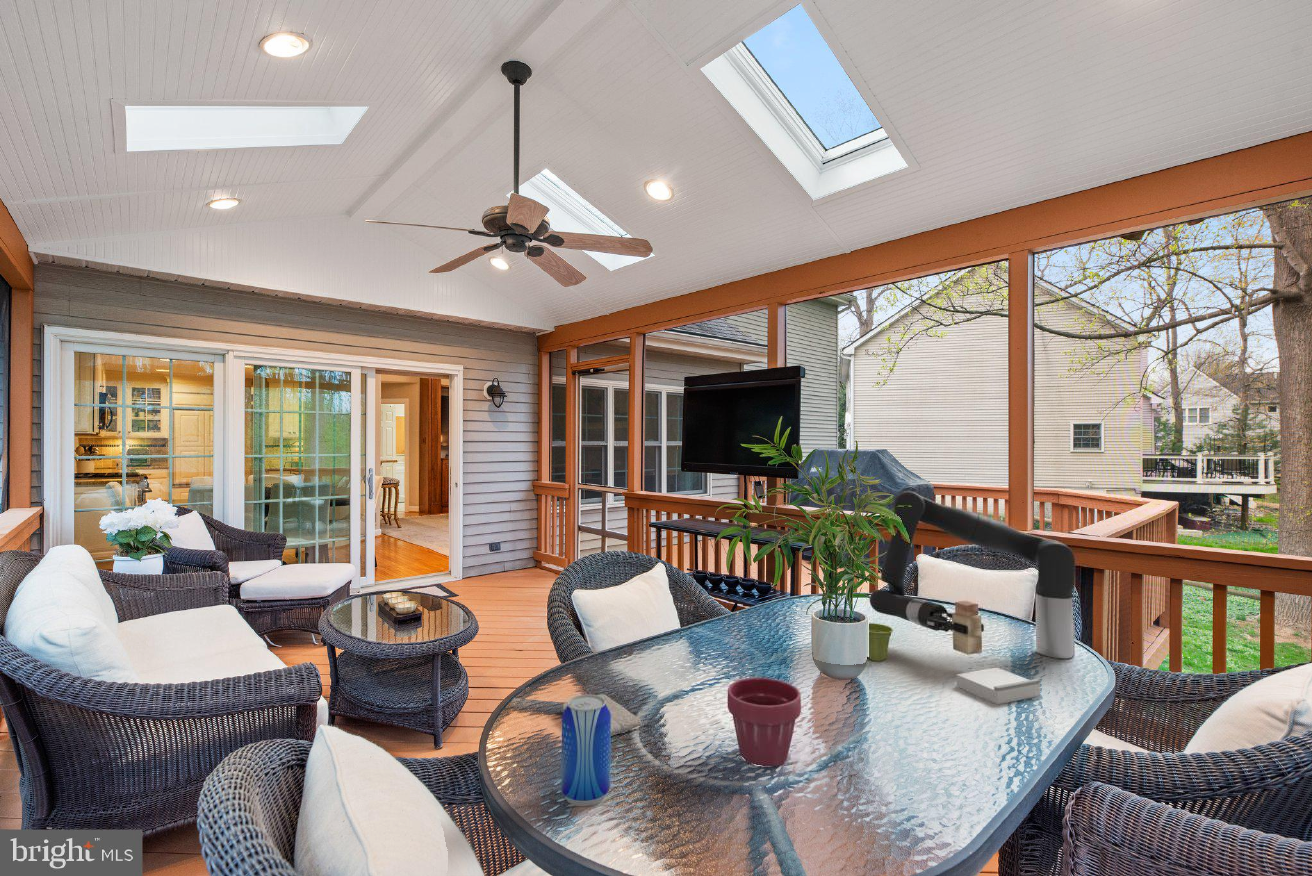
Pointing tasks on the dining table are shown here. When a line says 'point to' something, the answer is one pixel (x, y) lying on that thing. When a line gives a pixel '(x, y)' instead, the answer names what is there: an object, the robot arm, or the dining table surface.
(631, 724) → the washcloth
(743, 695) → the plant pot
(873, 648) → the plant pot
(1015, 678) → the dock
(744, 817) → the dining table surface
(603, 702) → the beer can
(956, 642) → the beige tall block
